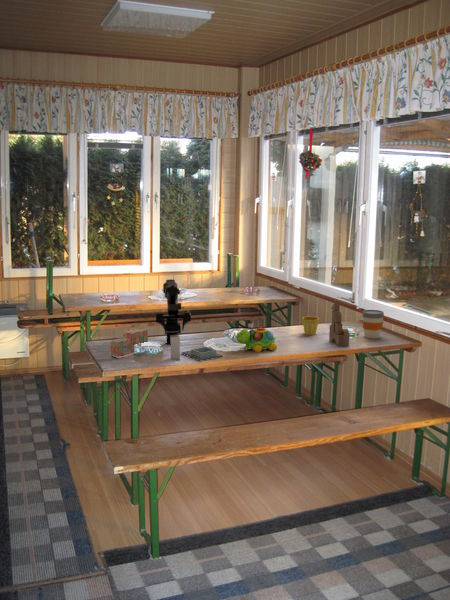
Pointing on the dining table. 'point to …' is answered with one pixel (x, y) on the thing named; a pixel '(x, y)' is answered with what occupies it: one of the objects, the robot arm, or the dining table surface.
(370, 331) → the reusable coffee cup
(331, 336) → the wooden toy
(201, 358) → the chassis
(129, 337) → the stack of blocks
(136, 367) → the dining table surface
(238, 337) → the turtle toy
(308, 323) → the plant pot
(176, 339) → the light grey rectangular block
